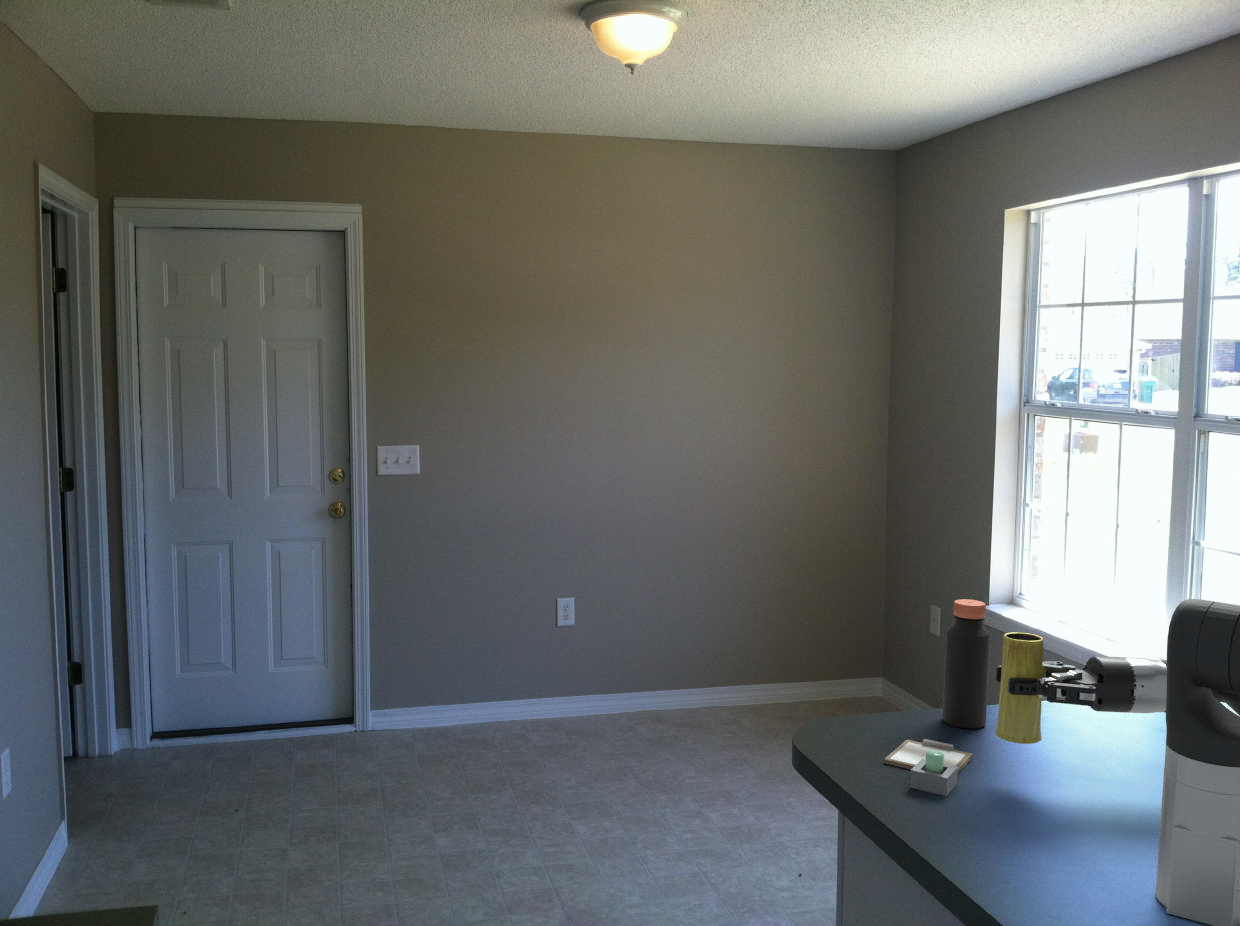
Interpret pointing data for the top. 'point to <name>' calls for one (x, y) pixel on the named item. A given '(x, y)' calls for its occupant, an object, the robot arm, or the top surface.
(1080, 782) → the top surface
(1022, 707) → the vase
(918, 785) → the button housing
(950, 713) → the bottle
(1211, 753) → the robot arm
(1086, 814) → the top surface
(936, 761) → the button
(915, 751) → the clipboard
